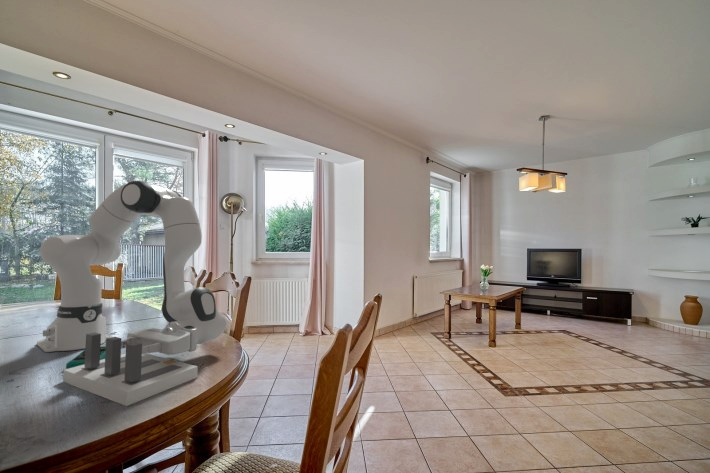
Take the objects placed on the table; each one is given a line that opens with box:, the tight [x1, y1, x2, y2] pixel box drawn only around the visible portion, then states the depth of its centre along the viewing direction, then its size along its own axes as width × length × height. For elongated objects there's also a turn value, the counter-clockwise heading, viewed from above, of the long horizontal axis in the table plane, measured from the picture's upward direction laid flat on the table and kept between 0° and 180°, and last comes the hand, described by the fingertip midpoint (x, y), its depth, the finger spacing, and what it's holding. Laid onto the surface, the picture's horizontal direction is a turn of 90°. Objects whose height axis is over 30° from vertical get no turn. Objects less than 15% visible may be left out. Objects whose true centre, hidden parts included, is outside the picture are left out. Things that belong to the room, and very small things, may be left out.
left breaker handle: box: [84, 333, 102, 369], centre depth 85 cm, size 3×2×9 cm, turn 64°
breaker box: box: [62, 352, 199, 407], centre depth 86 cm, size 28×18×3 cm, turn 64°
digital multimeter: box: [65, 346, 106, 369], centre depth 99 cm, size 7×15×3 cm, turn 23°
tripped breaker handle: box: [104, 336, 122, 375], centre depth 82 cm, size 3×2×9 cm, turn 64°
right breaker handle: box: [125, 342, 142, 382], centre depth 78 cm, size 3×2×9 cm, turn 64°
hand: (128, 348), depth 85 cm, fingers open, 8 cm apart
